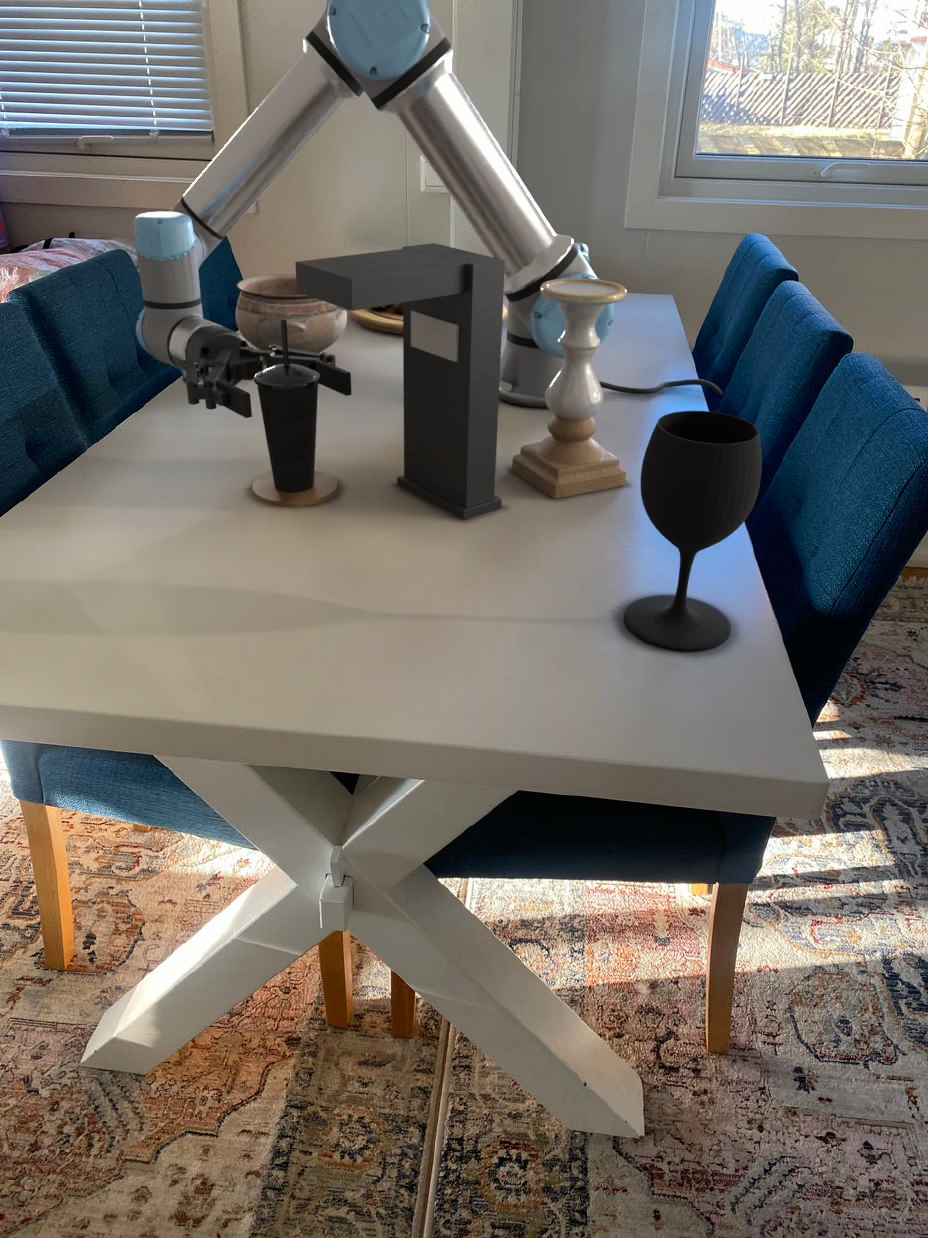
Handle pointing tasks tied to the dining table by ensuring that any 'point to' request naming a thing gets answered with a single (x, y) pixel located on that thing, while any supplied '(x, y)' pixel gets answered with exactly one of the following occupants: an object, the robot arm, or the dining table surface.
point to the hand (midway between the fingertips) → (300, 394)
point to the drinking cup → (290, 420)
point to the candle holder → (574, 399)
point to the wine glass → (694, 516)
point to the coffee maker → (434, 360)
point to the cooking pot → (286, 315)
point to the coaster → (318, 493)
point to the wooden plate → (389, 317)
